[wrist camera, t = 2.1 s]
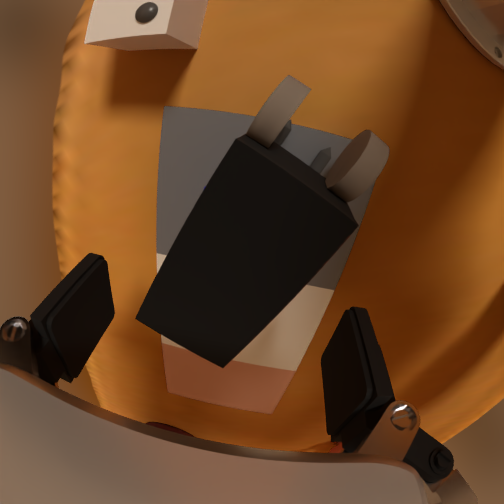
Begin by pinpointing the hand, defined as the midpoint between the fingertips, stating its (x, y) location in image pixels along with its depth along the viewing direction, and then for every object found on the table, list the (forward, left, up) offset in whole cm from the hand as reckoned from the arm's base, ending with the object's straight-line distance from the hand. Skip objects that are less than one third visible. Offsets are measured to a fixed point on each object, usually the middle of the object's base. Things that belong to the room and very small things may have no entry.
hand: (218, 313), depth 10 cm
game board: (+10, 0, -10) cm, 14 cm away
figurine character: (-1, 0, -10) cm, 10 cm away
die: (-13, -8, -10) cm, 18 cm away
